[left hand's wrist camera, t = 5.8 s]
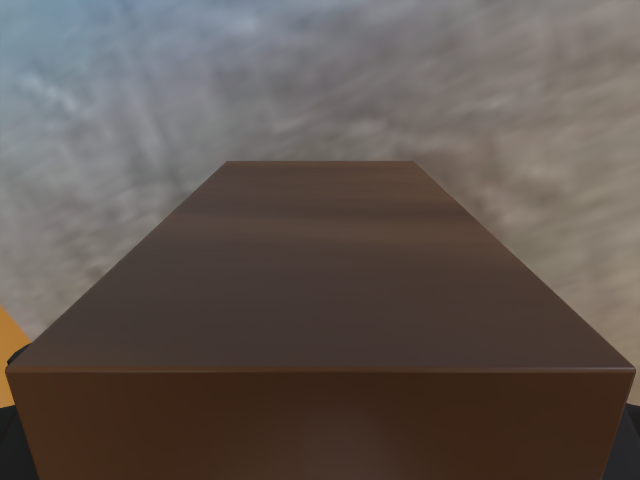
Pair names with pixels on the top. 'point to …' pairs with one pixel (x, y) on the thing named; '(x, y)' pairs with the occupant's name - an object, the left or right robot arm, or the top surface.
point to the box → (320, 345)
